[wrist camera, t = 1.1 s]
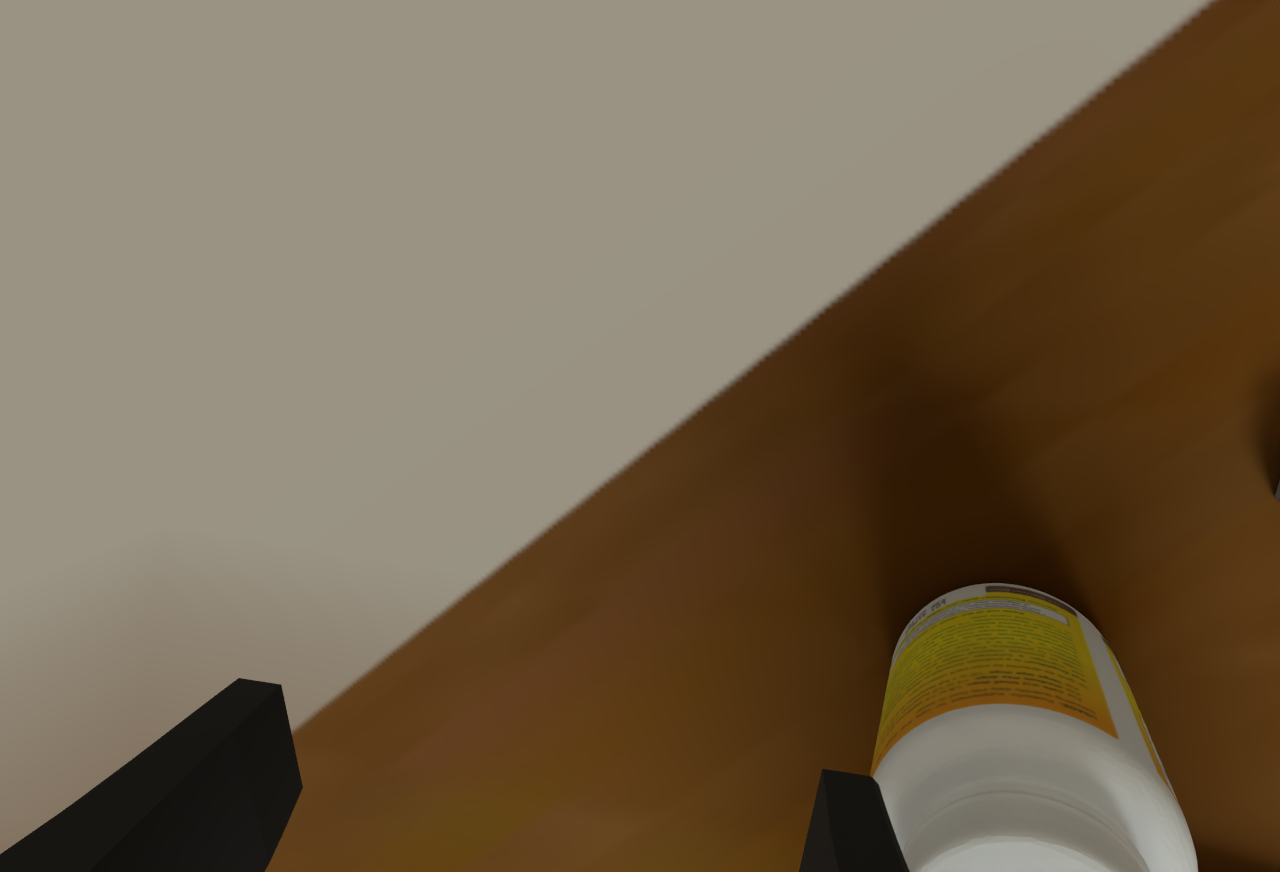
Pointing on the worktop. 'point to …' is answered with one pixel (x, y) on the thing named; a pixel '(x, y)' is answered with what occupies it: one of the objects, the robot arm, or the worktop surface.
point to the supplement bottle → (1020, 745)
